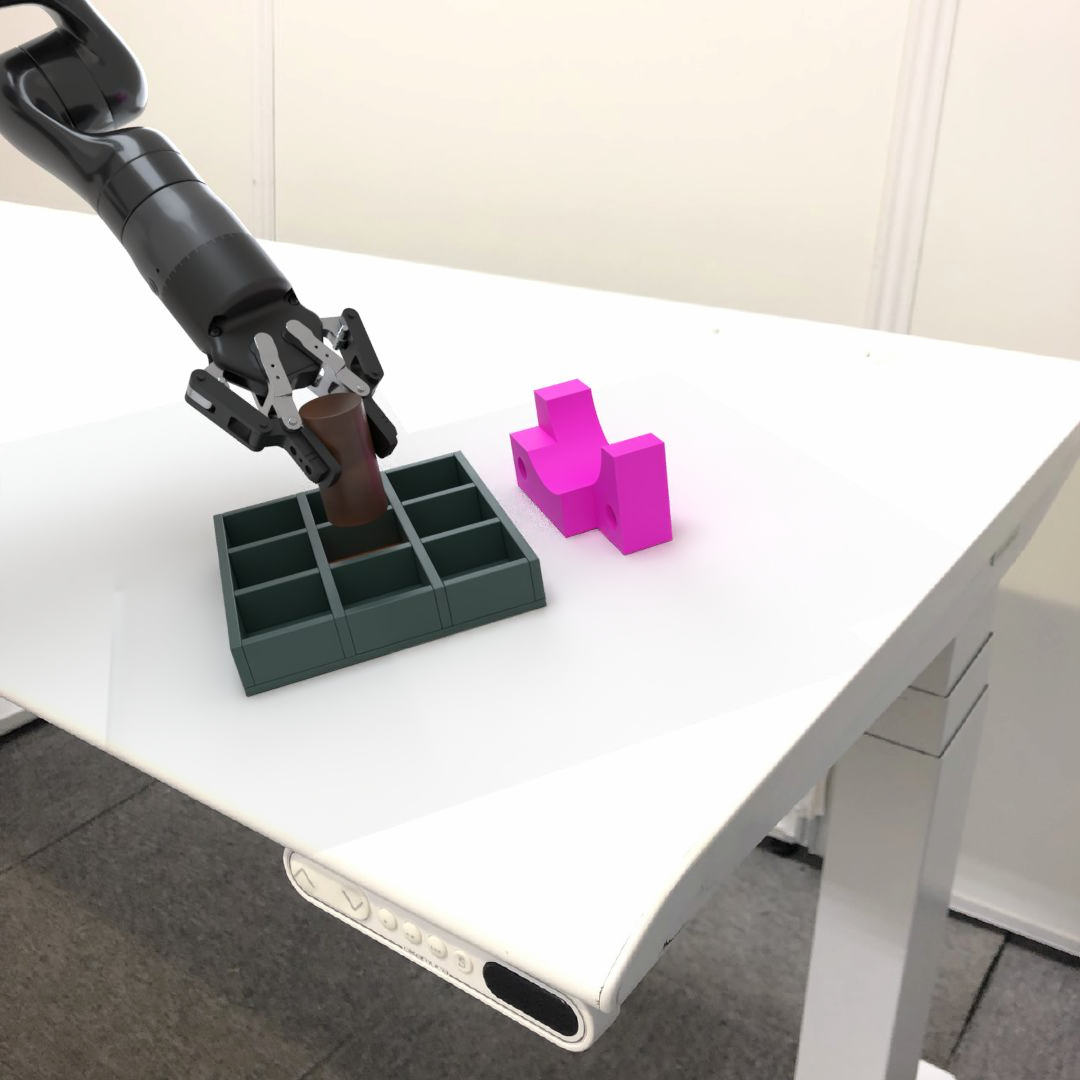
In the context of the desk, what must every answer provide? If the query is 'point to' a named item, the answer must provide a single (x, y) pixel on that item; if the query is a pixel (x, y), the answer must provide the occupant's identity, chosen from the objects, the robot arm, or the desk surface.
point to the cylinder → (347, 458)
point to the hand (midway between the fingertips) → (362, 464)
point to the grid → (369, 573)
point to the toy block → (592, 472)
